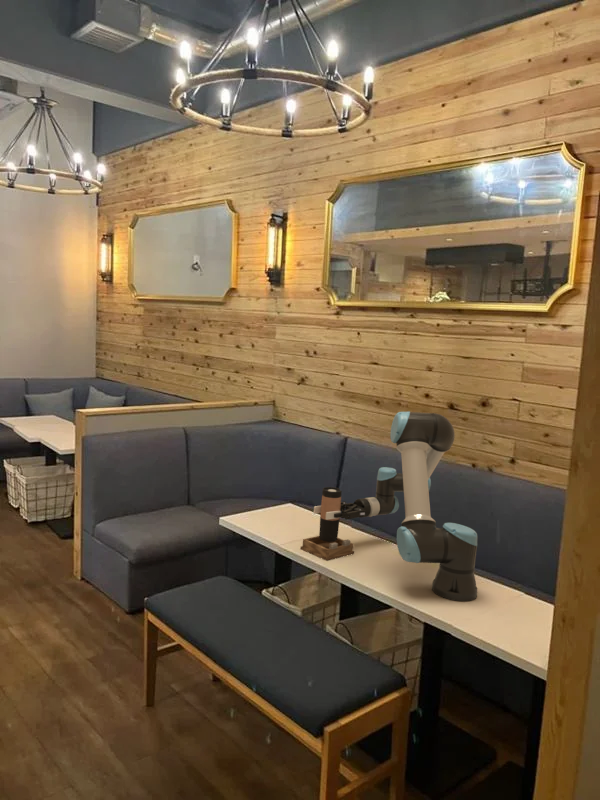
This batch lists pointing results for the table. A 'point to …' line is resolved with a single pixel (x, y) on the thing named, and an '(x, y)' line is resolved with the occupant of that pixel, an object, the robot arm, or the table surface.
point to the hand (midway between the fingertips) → (320, 512)
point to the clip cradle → (327, 548)
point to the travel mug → (329, 504)
